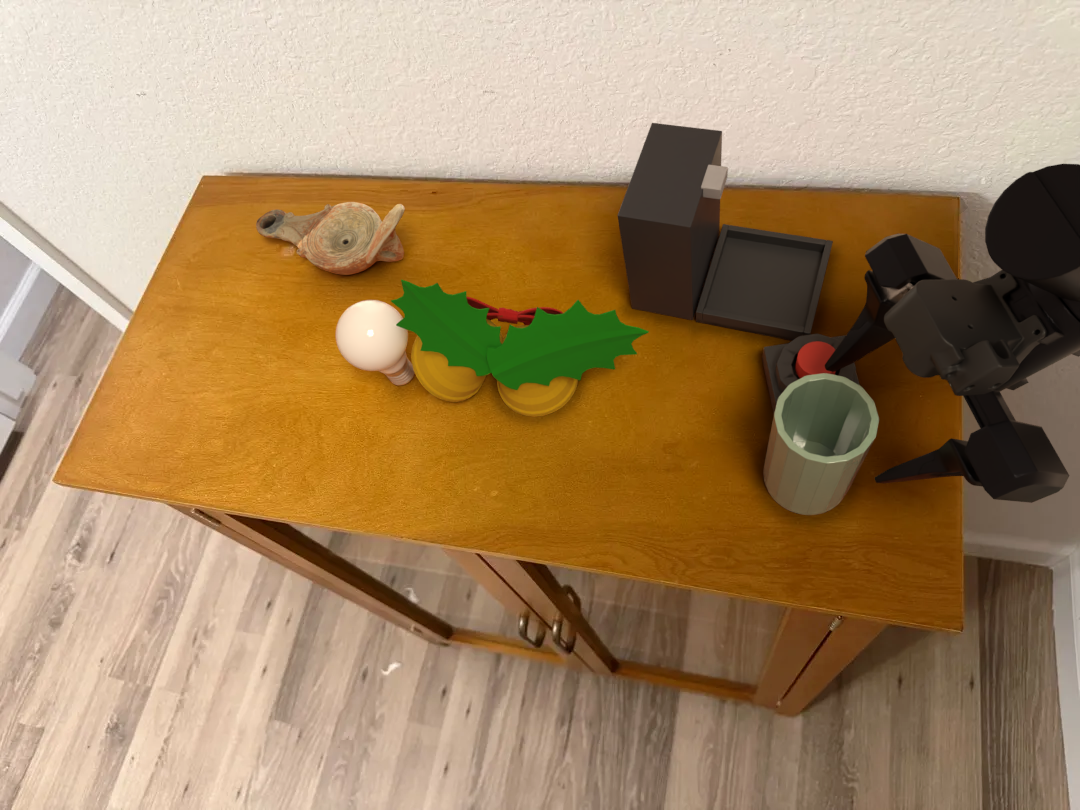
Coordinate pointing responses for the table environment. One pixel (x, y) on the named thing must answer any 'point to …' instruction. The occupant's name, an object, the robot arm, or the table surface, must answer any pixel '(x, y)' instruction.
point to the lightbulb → (375, 340)
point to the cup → (818, 442)
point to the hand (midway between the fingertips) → (852, 423)
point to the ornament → (508, 347)
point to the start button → (813, 359)
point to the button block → (783, 362)
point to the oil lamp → (338, 235)
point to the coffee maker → (710, 245)
